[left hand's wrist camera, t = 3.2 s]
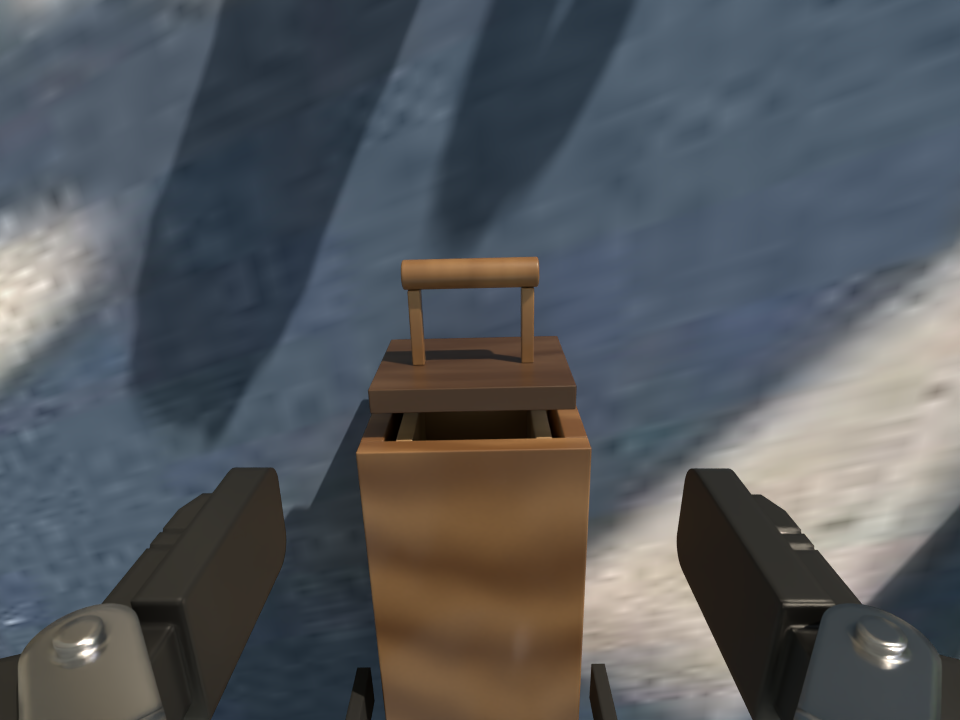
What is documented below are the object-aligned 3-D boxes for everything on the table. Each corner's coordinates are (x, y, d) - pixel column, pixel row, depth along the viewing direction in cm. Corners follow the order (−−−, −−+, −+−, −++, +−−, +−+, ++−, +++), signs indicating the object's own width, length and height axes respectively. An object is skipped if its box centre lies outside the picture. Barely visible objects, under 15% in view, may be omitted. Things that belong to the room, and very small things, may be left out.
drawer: (383, 246, 31) (355, 275, 24) (559, 242, 31) (580, 270, 24) (414, 624, 40) (400, 721, 33) (550, 622, 40) (564, 719, 33)
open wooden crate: (387, 375, 35) (355, 452, 26) (564, 371, 35) (591, 448, 26) (411, 655, 42) (393, 787, 34) (556, 653, 42) (575, 785, 34)
